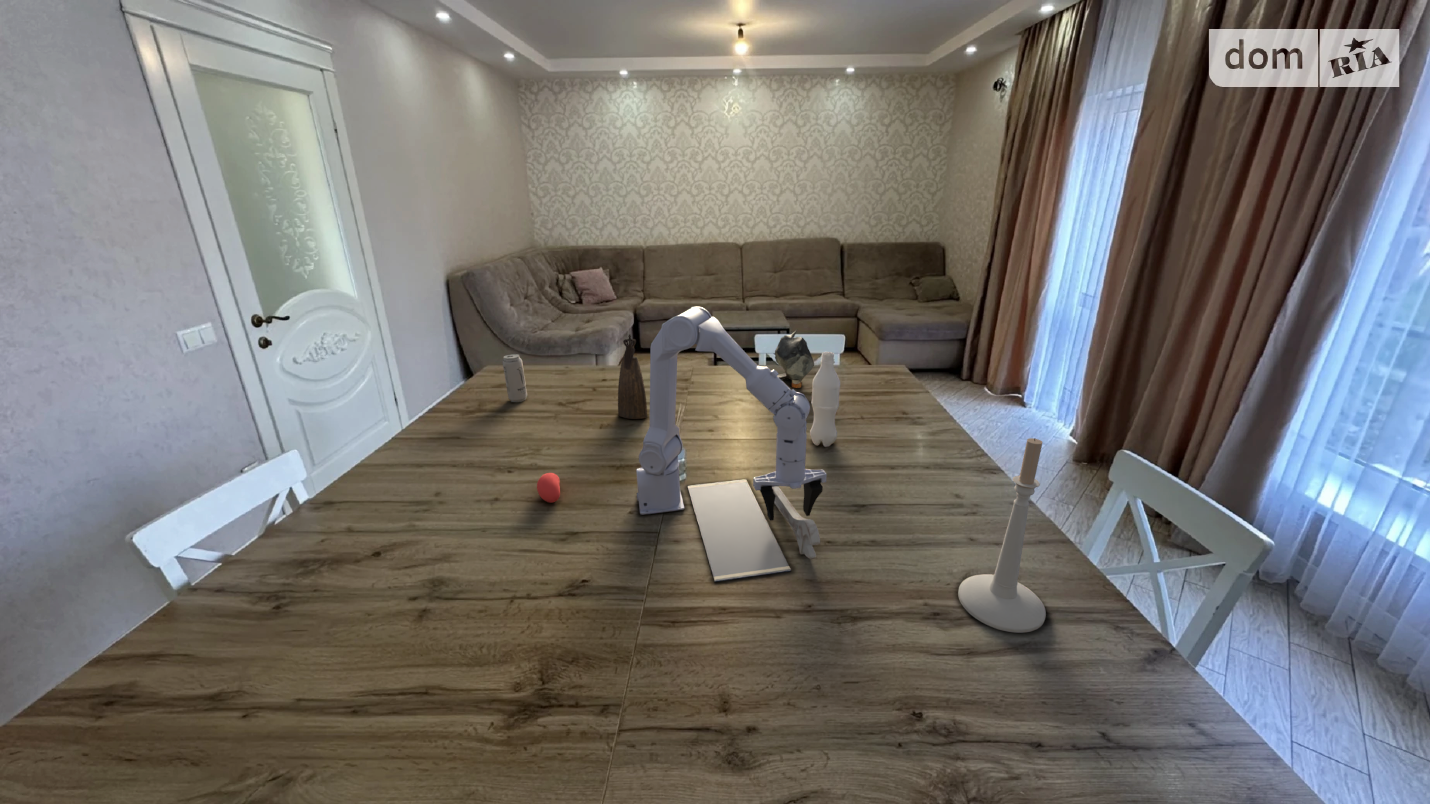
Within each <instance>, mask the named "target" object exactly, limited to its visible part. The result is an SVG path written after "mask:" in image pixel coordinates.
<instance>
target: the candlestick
mask: <svg viewBox="0 0 1430 804" xmlns="http://www.w3.org/2000/svg"><path fill="white" fill-rule="evenodd" d="M1042 448H1043V441H1042V440H1041V439H1038V438H1036V437H1034V438H1033V437H1029V438H1027V439H1026V443H1025V449H1024V452H1023V457H1022V462H1021V466H1020V467H1021V468H1020V472H1019V475H1015V476H1013V477H1012V481H1013V482H1014V484H1015V486H1014V491H1015V493H1016V498H1015V499H1014V500H1013V504H1012V505H1013V506H1012V509H1011V514H1010V516H1009V519H1008V523H1007V527H1006V530H1005V534H1004V538H1003V541H1002V546H1001V549H1000V552H999V556H998V561H997V563H996V567H995V570H994V574H991V573H990V574H989V573H985V574H976V575H972V576H969V577H967V578H965V579H964V580H963V581H962V582H961V583H960V584H959V587H958V592H957V595H958V600H959V602H960V604H961V606H962V607H963V608H964V610H965V611H966V612H967V613H968V614H969V615H970V616H972V617H973V618H974V619H976V620H977V621H979V622H981V624H982V623H983V624H984V625H987V626H988V627H991V628H994V629H996V630H1000V631H1003V632H1009V633H1015V634H1016V633H1017V634H1018V633H1019V634H1020V633H1023V634H1024V633H1030V632H1034V631H1036V630H1038V629H1040V628H1041V627H1042V626H1043V625H1044V623H1045V622H1046V621H1045V620H1046V617H1047V616H1046V615H1047V613H1046V608H1045V605H1044V603H1043V602H1042V600H1041V599H1040V598H1039V597H1038V595H1037V594H1036V593H1035V592H1033V591H1032V590H1031V589H1029V588H1028V587H1026V585H1024V584H1023V583H1020V582H1018V580H1019V576H1020V575H1019V574H1020V568H1021V562H1022V554H1023V548H1024V541H1025V535H1026V527H1027V521H1028V514H1029V507H1030V502H1029V500H1030V498H1031V497H1032V496H1033V495H1034V494H1035V489H1037V488H1038V487H1040V486H1041V483H1040V481H1039V480H1037V479H1036V476H1037V475H1036V474H1037V470H1038V466H1039V461H1040V456H1041V453H1042Z"/></svg>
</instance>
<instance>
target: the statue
mask: <svg viewBox="0 0 1430 804" xmlns="http://www.w3.org/2000/svg"><path fill="white" fill-rule="evenodd" d="M627 336H628V338H626V339H623V340H622V342H623V345H624V346H625V350H624V356H622V358H621V359H622V360H621V364H620V368H619V375H618V388H617V413H618V414H617V415H618V416H619V417H621V418H624V419H627V420H640V419H642V420H643V419H646V418H648V404H647V395H646V387H645V382H644V378H643V373H642V369H641V366H640V362H639V360H638V359H639V358H638V357H637V356H635V352H636V349H635V346H636V344H637V339H635V338H632V335H631V334H628V335H627Z"/></svg>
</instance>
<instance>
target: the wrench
mask: <svg viewBox="0 0 1430 804" xmlns="http://www.w3.org/2000/svg"><path fill="white" fill-rule="evenodd" d="M772 489H773V492H774V494H775V496H776V497H775V502H774V506H776V507H777V509H778V511H779V512H780V514H781V515H782V516H783V518H784V519H785V521H786V522H787V524H788V525H789V526H790V528H791V530H792V531H793V534H794V536H795V539H796V542H797V545H798V550H799V554H800V555H805V557H807V558H808V559H810V560H814V559H816V557H817V554H816V551H815V548H814V547H813V546H817V545H821V536H820V531H819V529H818V526H817V524H816V523H815V520H813V518H805V517H803V516H801V515H800V513H799V512H798V511H797V510H796V507H794V506H793V504H792V503H791V501H790V500H789V498H788V497H787V496H786V495H785V493H784V491H782V489H781V488H780V486H775V487H772Z"/></svg>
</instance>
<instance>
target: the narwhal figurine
mask: <svg viewBox="0 0 1430 804" xmlns="http://www.w3.org/2000/svg"><path fill="white" fill-rule="evenodd" d="M798 330H799V329H798V328H797V329H795V330H794V331H793V332H792V333H791V334H789V335H786V334H785V335H783V336H782V337H780V339H779V342H778V343H777V346H776V348H775V350H774V359H775V362H776V364H777V365H778V366H780V367H781V368H782V369H783V370H784V373H781V374H778V377H779V378H780V379H781V380H791V388H793V389H799V388H802V386H803V385H802V384H803V382H802V381H803V380H804V378H805V377H806V376H808V374H809V373H810V372H811V371H812V370H813V368H814V367H815V362H814V359H813V356H812V353H811V351H810V349H809V347H808V343H807V341H806V339H805V338H804V337H803V336H796V334H797V332H798Z"/></svg>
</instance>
